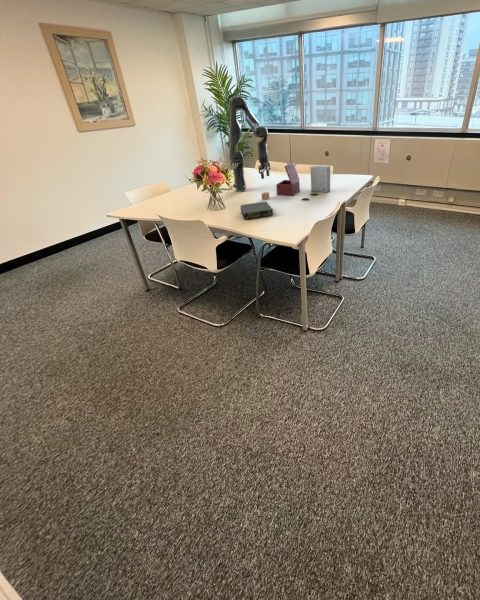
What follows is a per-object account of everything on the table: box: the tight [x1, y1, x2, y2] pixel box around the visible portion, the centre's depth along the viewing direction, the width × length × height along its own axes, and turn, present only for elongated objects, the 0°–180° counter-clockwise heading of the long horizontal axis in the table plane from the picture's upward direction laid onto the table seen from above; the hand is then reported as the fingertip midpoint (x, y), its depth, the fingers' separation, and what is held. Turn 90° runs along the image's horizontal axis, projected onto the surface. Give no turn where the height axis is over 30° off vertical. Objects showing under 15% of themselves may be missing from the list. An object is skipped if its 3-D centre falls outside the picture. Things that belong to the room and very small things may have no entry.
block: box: [261, 191, 270, 201], centre depth 263 cm, size 5×5×5 cm
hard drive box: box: [310, 165, 331, 193], centre depth 270 cm, size 16×8×20 cm, turn 65°
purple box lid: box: [284, 161, 300, 185], centre depth 263 cm, size 15×16×6 cm
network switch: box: [240, 201, 274, 221], centre depth 233 cm, size 23×24×5 cm
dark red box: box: [275, 179, 301, 197], centre depth 273 cm, size 15×16×9 cm
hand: (265, 177), depth 255 cm, fingers open, 8 cm apart
